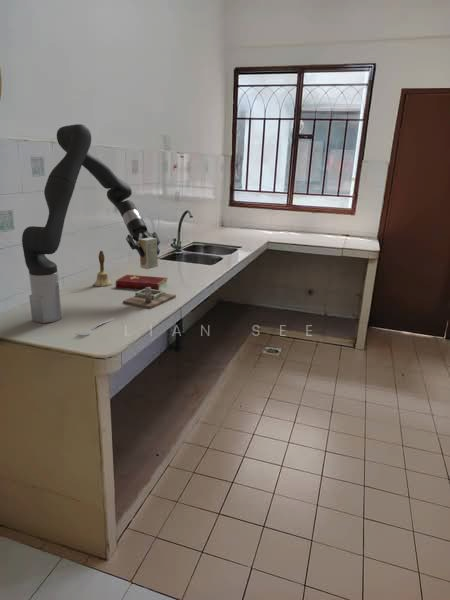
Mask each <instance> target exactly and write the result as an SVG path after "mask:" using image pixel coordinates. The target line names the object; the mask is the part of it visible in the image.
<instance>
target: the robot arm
mask: <svg viewBox="0 0 450 600" xmlns="http://www.w3.org/2000/svg"><path fill="white" fill-rule="evenodd" d="M56 141H57V143H58V145H59V146H60V148H61V149H62V150H63V151H64V152H65V153H66V154H65V155H64V157H63V158H62V159H61V160H60V161H59V162H58V163H57V165H55V166H54V168H53V169H52V170H51V171H50V173H49V175H48V178H47V180H46V183H45V186H44V190H43V191H44V192H43V193H44V198H45V201H46V205H47V208H48V216H47V221H46V223H45V226H35V225H34V226H28V227H26V228H25V229H24V230H23V232H22V236H21V244H22V246H21V247H22V250H23V256H24V262H25V265H26V268H27V270H28V275H29V276H28V277H29V281H30V292H31V294H30V295H29V296H28V297H29V305H30V306H29V307H30V311H31V312H30V314H31V320H32V322H36V323H41V324H46V323H51V322H52V323H54V322H58V321H59V320H61V319H62V318H63V315H62V305H61V304H62V303H61V294H60V283H59V276H58V275H59V273H58V265H57V263H55V262H54V261H52V260H50V259H49V258H48V257H47V256H46V255H53V254H55V253H56V252H57V251H58V249H59V247H60V245H61V239H62V235H63V230H64V225H65V219H66V216H67V211H68V209H69V206H70V202H71V200H72V198H73V194H74V191H75V187H76V183H77V180H78V177H79V175H80V171H81V169H82V167H84V168H85V170H87V171H88V172H89V174H91V175H92V176H93V178H95V179H96V180H97V182H98V183H99V184H100V185H101V187H102V188H104V189H106V190H107V192H106V196H107V199H108V201H110V202H111V204H113V205H114V207H115V208H116V209H117V210H118V211H119V213H120V216H121V218H122V219H123V223H124V225H125V226H126V229H127V231H128V233H129V234H127V236H126V237H125V240H126V242H127V243H128V245H129V246H130V249H132V250H136V251H137V253H138V255H139V257H140V256H141V257H144V256H145V253H144V251H143V249H142V247H141V245H140V243H139V239H143V238H149V237H151V238H157V256H159V254H160V252H161V251H160V249H159V246H160V243H161V241H160V239H159V237H158V234H157V232H156V231H153V232H152V233H150V232H149V231H148V228H147V225H146V223H145V221H144V219H143V217H142V215H141V214H140V212H139V211H138V209H137V207H136V204H134V202H133V201H132V200H130V199H129V198H130V197H131V196H132V193H133V191H132V187H131V186H130V185H129V183H127V182H126V181H124V180H122V179H121V178H119V177H118V176H117V175H116V174H115V173H114V172H113V171H112V170H111V168H110V167H109V166H108V165H107V164H106V163H105V162H104V161H102V160H100V159H99V158H97V157H95V156H94V155H92V154H91V153H90V152H89V150H90V147H91V144H92V133H91V131H90V128H89V127H88V126H87V125H85V124H80V123H79V124H70V125H65V126H61V127H59V128H58V129H57V131H56ZM127 199H128V200H127Z"/></svg>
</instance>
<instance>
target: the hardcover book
mask: <svg viewBox="0 0 450 600" xmlns="http://www.w3.org/2000/svg"><path fill="white" fill-rule="evenodd" d="M168 279H169V278H168V277H162V276H161V277H160V276H151V275H137V274H125V275H123V276H121V277H119V278H118V279H116V280H115V288H116V289H126V290H127V289H129V290H138V291H140V290H143V289H145V288H146V287H151V289H154V290H160V291H162V289H164V288H165V287H167V286H168Z"/></svg>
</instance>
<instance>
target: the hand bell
mask: <svg viewBox="0 0 450 600" xmlns="http://www.w3.org/2000/svg"><path fill="white" fill-rule="evenodd" d="M98 262H99V265H100V266H99V272H98V273H96V274H97V275H96V280H95V282H93V285H94V286H95V287H109V286H111V285H113V283H112V281H111V280H110V279H109V275H108V273H107V272H106V271H105V268H104V263H105V253H104V251H103V250H100V251H99V253H98Z"/></svg>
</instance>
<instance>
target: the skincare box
mask: <svg viewBox="0 0 450 600" xmlns="http://www.w3.org/2000/svg"><path fill="white" fill-rule="evenodd" d="M139 243H140V245H141V247H142V249H143V251H144V253H145V256H144V257H141V256H140V255H139V261H140V269H144V270H150V269H154V268H158V267H159V263H158V262H159V260H158V255H157V238H151V237H149V238H143V239H139Z"/></svg>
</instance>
